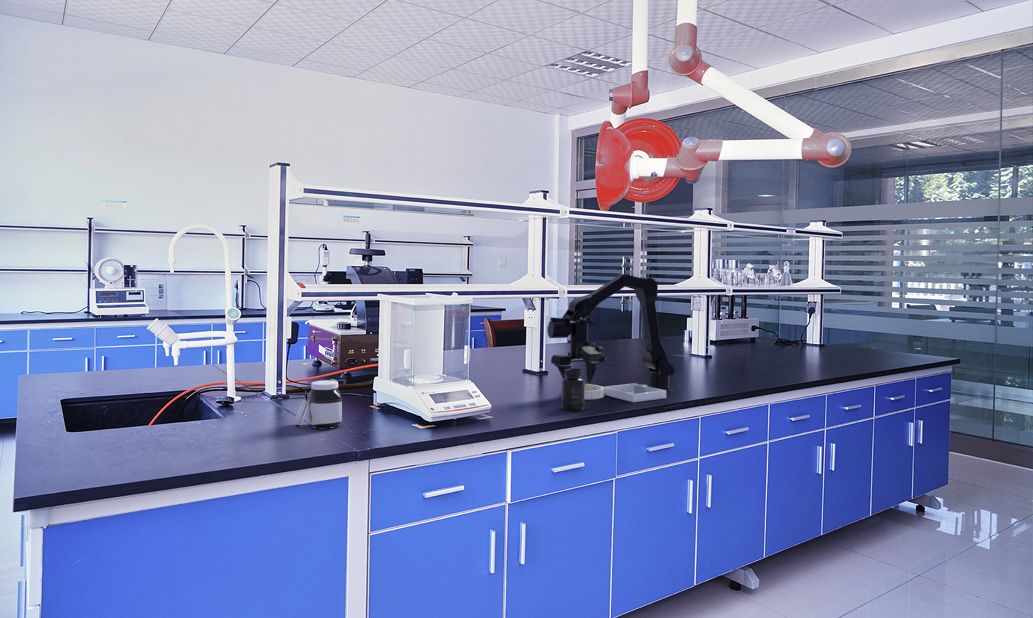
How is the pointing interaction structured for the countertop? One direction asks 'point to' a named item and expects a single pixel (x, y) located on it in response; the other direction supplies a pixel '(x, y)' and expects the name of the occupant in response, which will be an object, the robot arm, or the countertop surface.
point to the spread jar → (322, 405)
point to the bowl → (593, 391)
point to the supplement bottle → (572, 390)
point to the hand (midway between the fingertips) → (578, 384)
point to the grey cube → (640, 388)
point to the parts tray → (628, 393)
